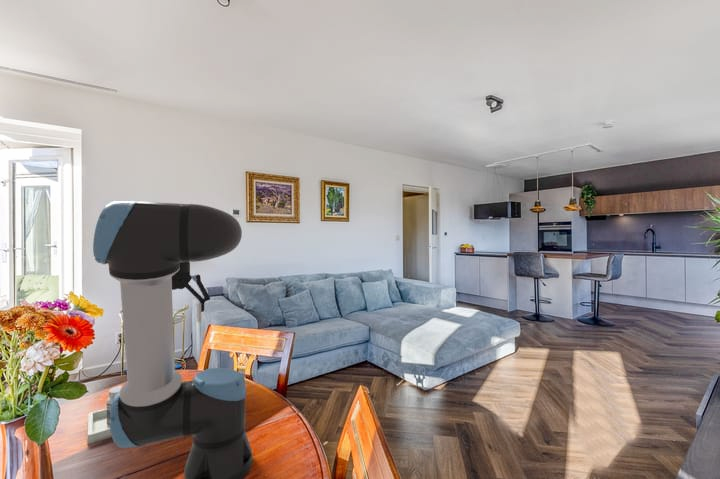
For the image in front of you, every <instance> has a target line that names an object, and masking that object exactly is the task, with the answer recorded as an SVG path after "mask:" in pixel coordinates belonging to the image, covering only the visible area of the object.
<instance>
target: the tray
mask: <svg viewBox="0 0 720 479" xmlns="http://www.w3.org/2000/svg"><path fill="white" fill-rule="evenodd" d="M87 422H88V424H87V445H91V444H94V443H98V442H101V441H104V440H107V439H111V438H112V435H111V431H110V426H108V425H107V407H105V408H102V409H99V410H94V411H91V412H88V419H87Z"/></svg>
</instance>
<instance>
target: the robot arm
mask: <svg viewBox="0 0 720 479" xmlns="http://www.w3.org/2000/svg"><path fill="white" fill-rule="evenodd" d="M242 232H243V231H242V227H241V224H240V222H239V221H238V220H237V218H235V217H234V216H233V215H232V214H230V213H228V212H226V211H223V210H220V209H219V208H215V207H211V206H208V205H202V204H195V203H174V202H160V201H159V202H158V201H155V202H154V201H139V200H130V201H128V200H126V201H123V200H121V201H119V200H118V201H112V202H110V203H108V204H107V205H105V206H104V208H103V209H102V210H101V212H100V214H99V217H98V219H97V221H96V225H95V229H94V234H93V241H92V242H93V244H92V247H93V248H92V252H93V257H94V260H95V262H96V263H98V264H102V265H108V272H109V275H110V277H112V278H113V279H115V280H116V281H118V282H119V284H120V286H119V288H120V298H121V299H120V300H121V310H122V311H121V313H122V324H123V336H124V350H125V352H124V353H125V361H126V362H125V363H126V376H127V377H126V378H127V381H125V382H124V383H123V384H122V385H123V386H122V388H121V390H120V392H118V393H117V394H116V395H115V397H114V399H113V401H112V405H111V410H110V418H111V422H110V431H111V435H112V437H111V438H112V440H113V442H114V444H115V445H116V446H117V447H118V448H121V449H127V448H128V449H129V448H136V447H137V448H140V447H144V446H146V445H150V444H156V443H159V442H161V443H162V442H164V441H169V440H175V439H179V438H183V437H184V438H185V437H188V436H192V444H191V448H190V450H189V454H188V457H187V458H186V461H185V465H184V470H183V472H184V473H183V475H184V476H183V479H244V478H245V477H246V476H247V474H248V473H249V472H250V470H251V469H252V466H253V450H252V448H251V447H252V446H251V444H250V441H249V439H248V435H247V433H246V396H247V390H246V379H245V377H244V375H243V374H242V373H241V372H239V371H238V370H235V369H231V368H226V367H213V368H207V369H205V370H201V371H198V372H197V373H196V374H195V375H194V376H193V378H192V380H187V381H183V376H182V374H181V373H180V372H179V371H178V370H176V369H175V351H174V350H175V349H174V348H175V347H174V346H175V345H174V344H175V343H174V342H175V341H174V316H173V315H174V313H173V312H174V311H173V310H174V309H173V291H174V290H183V289H186V290H188V291H189V292H190V293H191V294H192V296H194V297H195V298H196V299H197V300H198V301H197V302H196V322H198V323H202V313H203V312H204V311H205V303H206V302H207V301H210V300H211V297H210V295H209V293H208V291H207V289H206V288H205V286H204V284H203V282H202V280H201V275H200V274H198V273H196V274H194V275H191V263H193V262H195V263H196V262H203V261H208V260H212V259H216V258H220V257H222V256H225V255H227V254H230V253H231V252H232V251H234V250H235V249H236V248H237V247H238V246H239V245H240V242H241V240H242ZM191 280H193V282H195V283H196V285H197V287H198V288H199V290H200V292H201V294H202V296H203V297H202V296H201V295H200V294H199V293H198V291H196V290H195V289H194V287H192V286H191V285H190V281H191Z"/></svg>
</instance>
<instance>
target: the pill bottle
mask: <svg viewBox="0 0 720 479" xmlns="http://www.w3.org/2000/svg"><path fill="white" fill-rule="evenodd" d="M123 385H124V384H122V385H116V386H113V387H112V388H110V389H109V390H108V398H107V399H106V408H107V425H108V426H110V422H111V418H110V410H111V405H112V401H113V399H114V397H115V395H116V394H117V393H118V392H120V390H121V388H122V386H123Z"/></svg>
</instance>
